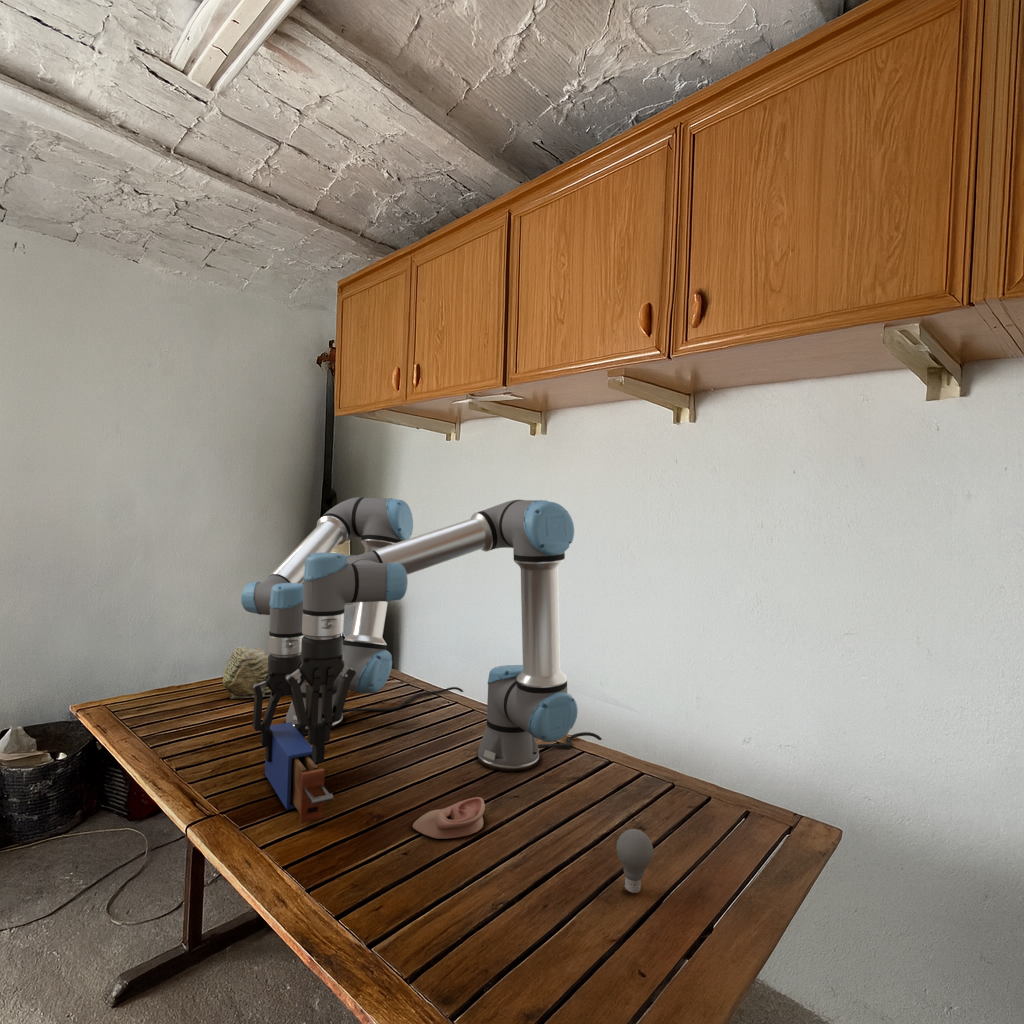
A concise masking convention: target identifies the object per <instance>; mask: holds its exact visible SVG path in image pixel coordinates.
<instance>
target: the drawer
mask: <svg viewBox="0 0 1024 1024" xmlns="http://www.w3.org/2000/svg"><path fill="white" fill-rule="evenodd" d="M290 799H291V801H292V802H293V804H294V805H295V807H296V808H295V809H296V810H297V812H298V813H299V822H300V823H301V824H302V823H303V824H304V823H308V822H312V821H315V820H319V819H323V818H324V803H328V802H329V803H330V802H333V801H334V795H333V793H330V792H329V791H328V790H327V789H326V787H325V769H324V768H323V767H322V768H319V767H318V765H317V763H316V762H315V763H314V762H313V761H312V760H311V758H310V757H309V756H308V755H307V756H302V757H297V758H292V769H291V798H290Z"/></svg>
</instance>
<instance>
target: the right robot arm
mask: <svg viewBox="0 0 1024 1024" xmlns="http://www.w3.org/2000/svg"><path fill="white" fill-rule="evenodd" d="M574 537H575V525H574V521H573V519H572V516H571V514H570V512H569V511H568V510H567V509H566V508H565V507H564V506H563V505H561V504H560V503H557V502H555V501H549V500H547V499H545V500H543V499H538V500H537V499H536V500H535V499H534V500H533V499H528V500H527V499H513V500H507V501H506V502H502V503H500V504H496V505H494V506H491V507H489V508H486V509H483V510H480V511H477V512H474V513H473V514H471V517H470V518H469V519H466V520H462V521H460V522H457V523H453V524H451V525H448V526H444V527H441V528H438V529H434V530H432V531H429V532H426V533H423V534H420V535H417V536H413V537H410V538H409V539H407V540H404V541H401V542H398V543H395V544H392V545H388V546H385V547H382V548H379V549H376V550H374V551H370V552H367V553H365V552H364V553H361V554H358V555H357V554H347V555H345V554H344V553H339V552H331V553H312V554H310V555H308V556H307V558H306V560H305V569H304V577H303V579H304V583H303V584H304V595H303V618H302V634H304V635H305V636H303V638H302V642H301V661H300V663H299V665H298V669H297V670H296V671H295V672H293V673H292V674H287V675H286V676H285V679H286V681H287V682H288V683H289V685H290V686H291V691H292V696H293V700H294V705H295V709H296V714H297V718H298V722H299V723H300V724H301V725H302V726H304V727H305V726H307V727H308V732H307V742H308V743H309V744H310V745H311V746H312V759H313V760H314V761H315V764H320V763H324V762H325V751H326V747H325V746H326V743H329V742H330V740H331V729H330V727H331V726H332V723H333V722H335V721H339V720H340V719H341V715H342V712H343V709H345V708H344V707H345V704H346V700H347V697H348V693H349V691H348V689H349V685H350V682H351V681H352V679H353V677H354V676H355V674H356V672H355V670H353V669H352V668H350V667H347V666H345V663H344V661H343V658H342V655H343V643H344V637H343V635H342V634H343V633H344V627H345V626H344V625H345V624H344V622H345V607H346V606H345V605H346V604H353V603H356V602H379V601H386V602H388V603H389V602H394V601H401V600H402V599H404V597H405V596H406V593H407V591H408V575H411V574H414V573H416V572H419V571H423V570H425V569H428V568H431V567H434V566H436V565H437V566H438V565H440V564H442V563H445V562H449V561H451V560H455V559H456V558H460V557H462V556H465V555H469V554H471V553H474V552H477V551H479V550H481V551H483V552H486V553H487V552H490V551H492V550H497V549H504V548H506V549H507V548H509V549H513V553H512V554H513V562H514V563H515V564H516V565H517V566H518V567H519V569H520V593H521V594H520V600H521V601H520V603H521V604H520V605H521V606H520V607H521V643H522V645H521V647H522V664H507V665H499V666H495V667H493V668H491V669H490V670H489V673H488V678H487V705H486V727H485V730H484V732H483V735H482V738H481V740H480V743H479V747H478V750H477V760H478V762H479V763H480V764H482V765H483V766H485V767H487V768H489V769H493V770H496V771H502V772H521V771H527V770H529V769H532V768H534V767H535V766H537V765H538V764H539V762H540V749H548V748H549V749H550V748H551V749H552V748H571V747H572V746H573V741H572V739H575V738H579V737H587V736H588V737H593V738H595V739H596V740H598V741H603V738H602V737H601V736H600V735H599V734H596V733H595V732H589V731H584V732H583V731H582V732H578V733H573V734H571V735H569V736H571V737H568V736H567V735H568V734H569V732H570V730H571V729H573V727H574V725H575V724H576V721H577V718H578V711H579V710H578V703H577V701H576V700H575V698H574V697H573V696H572V694H570V693H568V678H567V675H566V674H565V673H564V672H563V671H562V670H561V640H560V639H561V637H560V636H561V635H560V633H561V632H560V589H559V588H560V587H559V585H560V584H559V580H560V579H559V567H560V566H561V564H563V563H564V561H566V558H565V556H566V551H567V550H568V549H569V548H570V545H571V544H573V541H574ZM340 672H341V678H340V681H339V685H338V689H337V692H336V696H335V700H334V704H333V707H332V691H333V688H334V681H335V679H336V678H337V677H338V675H339V674H340ZM301 675H302V676H303V677H304V679H305V680H306V681H307V683H308V688H309V695H308V718H307V715H306V711H305V706H304V701H303V697H302V692H301V688H300V686H299V683H300V682H301V679H300V676H301ZM320 685H322V710H321V721H322V723H318V703H319V691H320ZM565 736H566V737H565ZM564 737H565V741H566V742H567V743H553V742H557V741H559V740H561V739H563V738H564ZM537 739H538V740H540V741H543V742H546V743H542V744H541V743H540V744H538V743H537Z"/></svg>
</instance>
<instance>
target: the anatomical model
mask: <svg viewBox="0 0 1024 1024" xmlns="http://www.w3.org/2000/svg"><path fill="white" fill-rule="evenodd" d="M485 809H486V806H485V801H484V798H482V797H480V796H479V797H478V796H476V797H470V798H467V799H463V800H461V801H458V802H456V803H454V804H451V805H449V806H447V807H444V808H440V809H434V810H430V811H428V812H426V813H424V814H422V815H421V816H420V817H419V818H417V819H416V820H415V821H414V822H413V824H412V828H413V830H415V831H417V832H419V833H421V834H422V835H424V836H427V837H429V838H432V839H437V840H440V839H441V840H445V839H455V838H461V837H466V836H470V835H472V834H475V833H477V832H479V831H480V830H482V828H483V827H484V818H483V817H484V816H483V815H484V813H485Z"/></svg>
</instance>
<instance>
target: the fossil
mask: <svg viewBox="0 0 1024 1024" xmlns="http://www.w3.org/2000/svg"><path fill="white" fill-rule="evenodd" d="M268 656H269V655H268V654H267V653H266V652H265V650H264V649H263V648H260V647H258V648H251V647H247V646H246V647H245V646H238V647H237V648H236V649H235V650H233V651H232V653H231V656H230V657H229V659H228V660H227V663H226V666H225V668H224V671H223V675H222V676H223V677H222V685H223V687H224V688H225V690H226V691H228V693H229V698H230V699H250V698H254V697H255V693H254V690H253V687H252V685H253V684H254V683H257V684H259V683H261V682H263V681H265V679H266V677H267V674H268ZM262 694H263V698H264V697H270V694H271V690H270V689H269V688H268V686H266V687H265V691H264V692H263V693H262Z"/></svg>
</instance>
